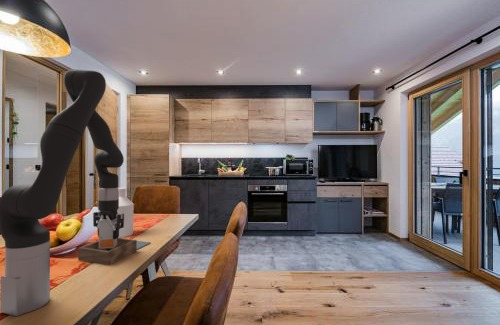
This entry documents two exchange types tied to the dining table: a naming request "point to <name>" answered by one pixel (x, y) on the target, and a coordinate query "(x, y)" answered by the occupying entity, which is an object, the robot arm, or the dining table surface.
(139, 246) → the mat
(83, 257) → the tray
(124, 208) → the bottle
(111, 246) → the skincare box
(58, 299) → the dining table surface
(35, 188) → the robot arm
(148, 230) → the dining table surface
